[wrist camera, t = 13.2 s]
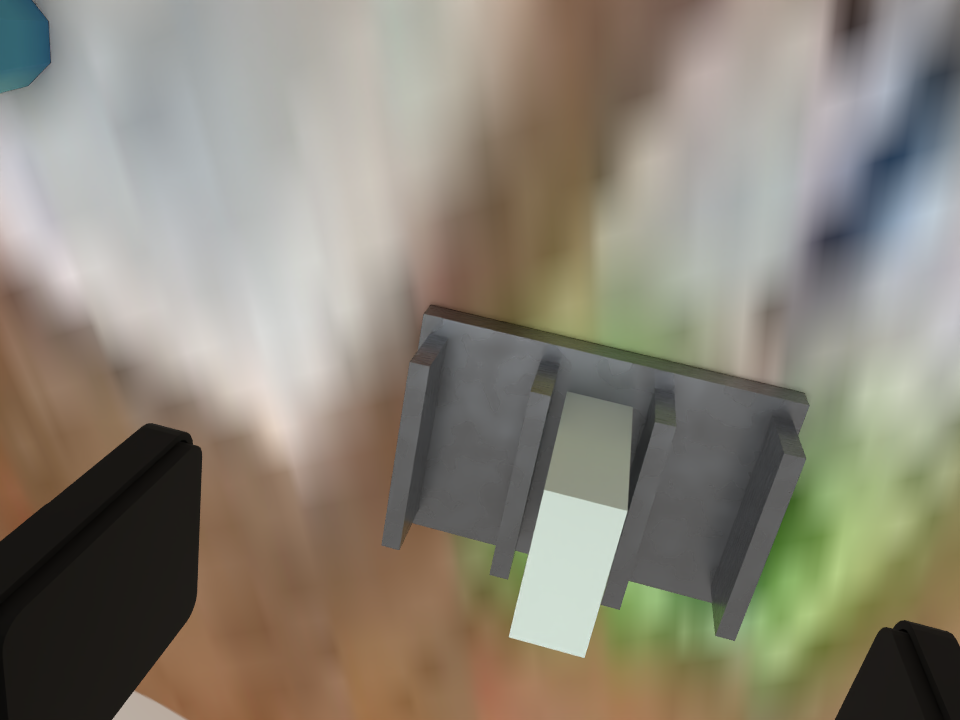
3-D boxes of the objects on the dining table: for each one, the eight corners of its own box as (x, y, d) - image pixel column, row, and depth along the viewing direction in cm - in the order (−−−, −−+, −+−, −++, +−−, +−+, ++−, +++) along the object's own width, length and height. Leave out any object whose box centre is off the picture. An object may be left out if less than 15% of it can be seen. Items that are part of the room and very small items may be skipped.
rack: (430, 304, 44) (402, 340, 39) (804, 393, 42) (824, 442, 37) (398, 503, 50) (370, 557, 45) (729, 591, 48) (738, 658, 43)
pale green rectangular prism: (567, 391, 43) (544, 489, 34) (632, 407, 43) (627, 511, 34) (537, 516, 46) (508, 637, 37) (598, 532, 46) (584, 657, 37)
